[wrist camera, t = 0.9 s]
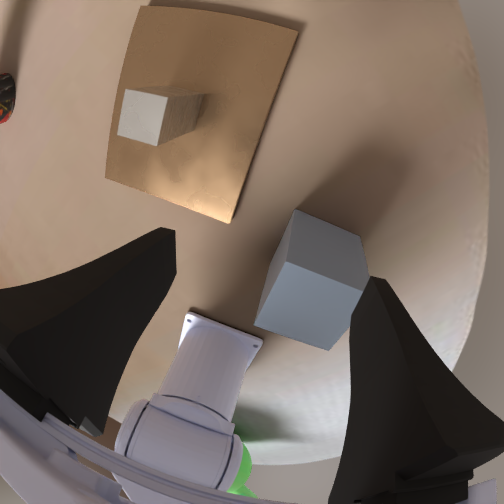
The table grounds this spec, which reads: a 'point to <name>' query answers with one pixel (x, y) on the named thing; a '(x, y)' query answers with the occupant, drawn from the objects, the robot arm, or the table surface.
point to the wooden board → (194, 104)
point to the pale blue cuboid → (313, 282)
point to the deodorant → (6, 96)
